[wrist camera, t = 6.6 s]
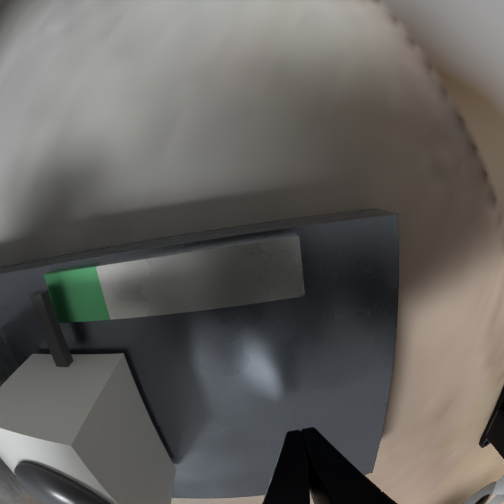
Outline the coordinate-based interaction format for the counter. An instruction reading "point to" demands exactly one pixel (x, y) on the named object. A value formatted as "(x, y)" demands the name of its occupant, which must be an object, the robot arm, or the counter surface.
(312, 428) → the robot arm
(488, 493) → the grey flat openwork piece
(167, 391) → the bench
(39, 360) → the white box with dome
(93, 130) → the counter surface
